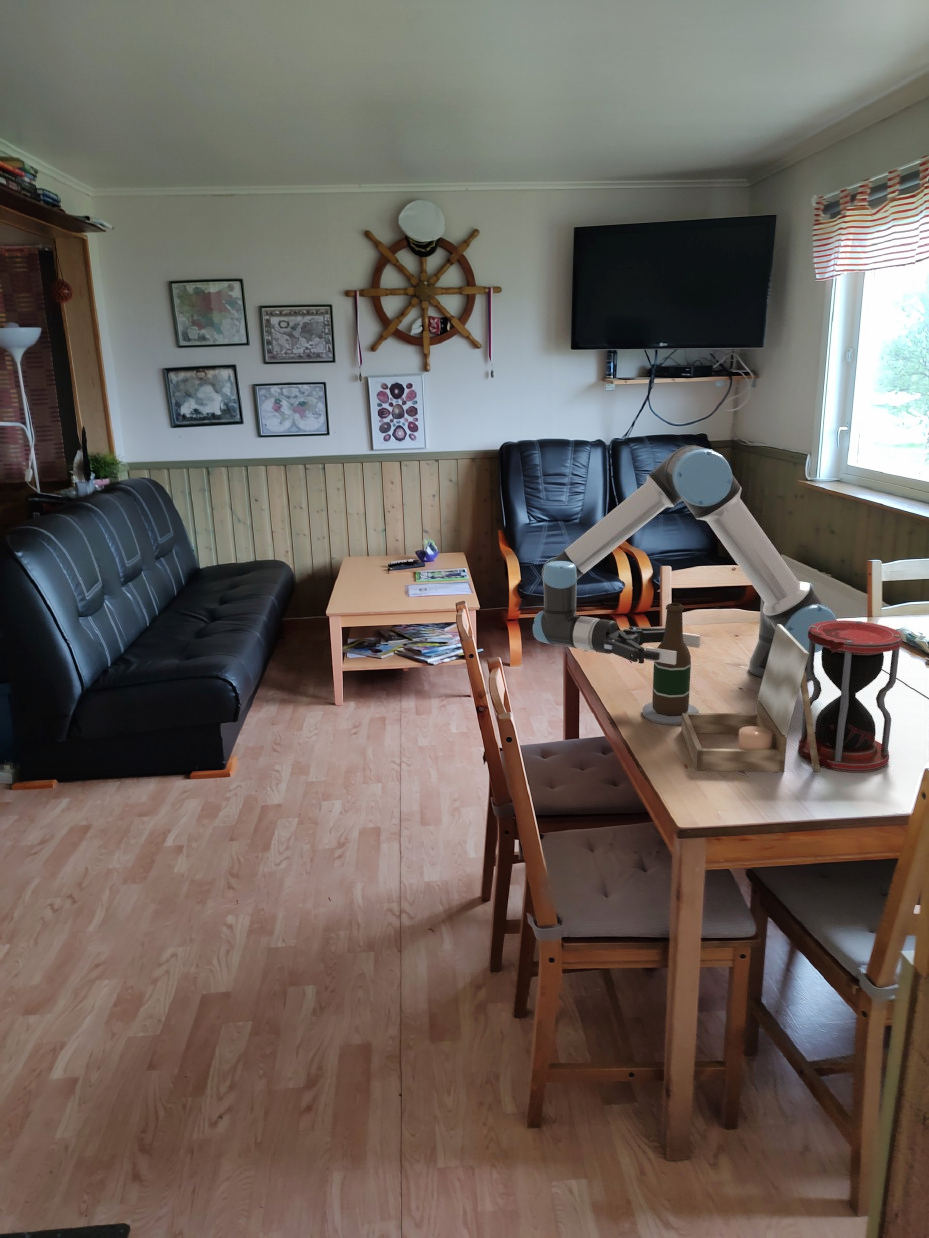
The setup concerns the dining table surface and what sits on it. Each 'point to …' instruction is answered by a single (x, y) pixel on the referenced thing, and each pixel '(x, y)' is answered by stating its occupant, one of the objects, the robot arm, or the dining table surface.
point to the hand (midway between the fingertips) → (688, 649)
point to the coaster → (663, 719)
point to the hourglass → (850, 694)
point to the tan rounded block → (754, 738)
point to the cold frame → (759, 715)
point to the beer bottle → (672, 668)
